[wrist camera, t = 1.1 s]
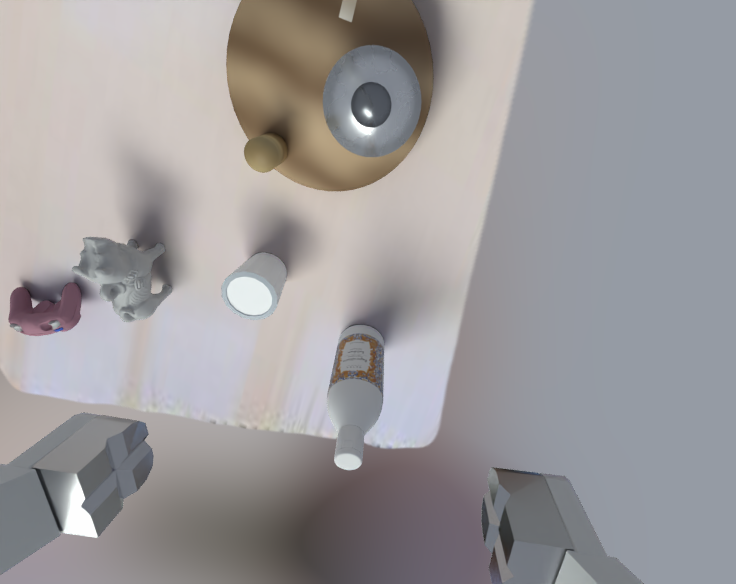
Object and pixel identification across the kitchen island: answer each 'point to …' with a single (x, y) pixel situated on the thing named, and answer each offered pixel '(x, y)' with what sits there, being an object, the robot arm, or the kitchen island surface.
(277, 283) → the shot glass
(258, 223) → the kitchen island surface
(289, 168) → the turntable
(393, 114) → the cover
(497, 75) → the kitchen island surface
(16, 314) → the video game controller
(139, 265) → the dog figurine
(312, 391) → the kitchen island surface
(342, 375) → the bath foam
